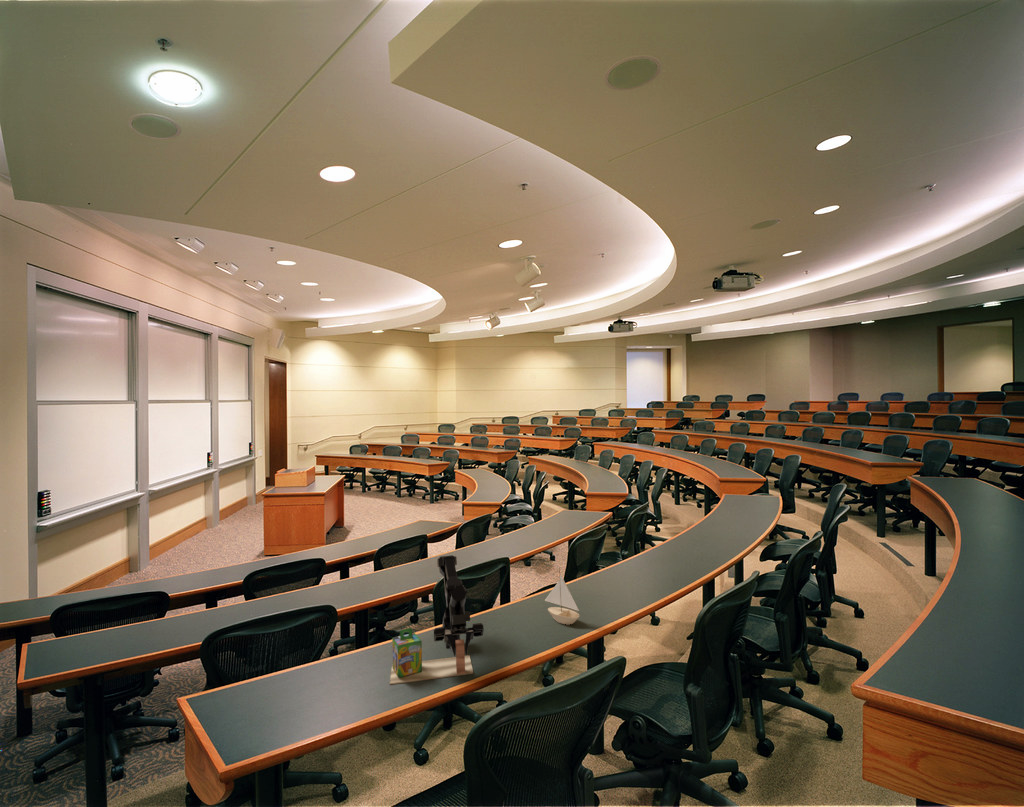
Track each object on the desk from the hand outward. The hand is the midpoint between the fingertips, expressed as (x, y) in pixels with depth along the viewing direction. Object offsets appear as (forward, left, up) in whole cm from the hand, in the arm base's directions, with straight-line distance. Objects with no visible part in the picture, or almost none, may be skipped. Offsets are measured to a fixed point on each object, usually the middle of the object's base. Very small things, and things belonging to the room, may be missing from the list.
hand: (460, 655), depth 177 cm
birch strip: (-7, -10, -7) cm, 14 cm away
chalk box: (-8, -19, -7) cm, 22 cm away
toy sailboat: (-38, +50, -7) cm, 63 cm away
